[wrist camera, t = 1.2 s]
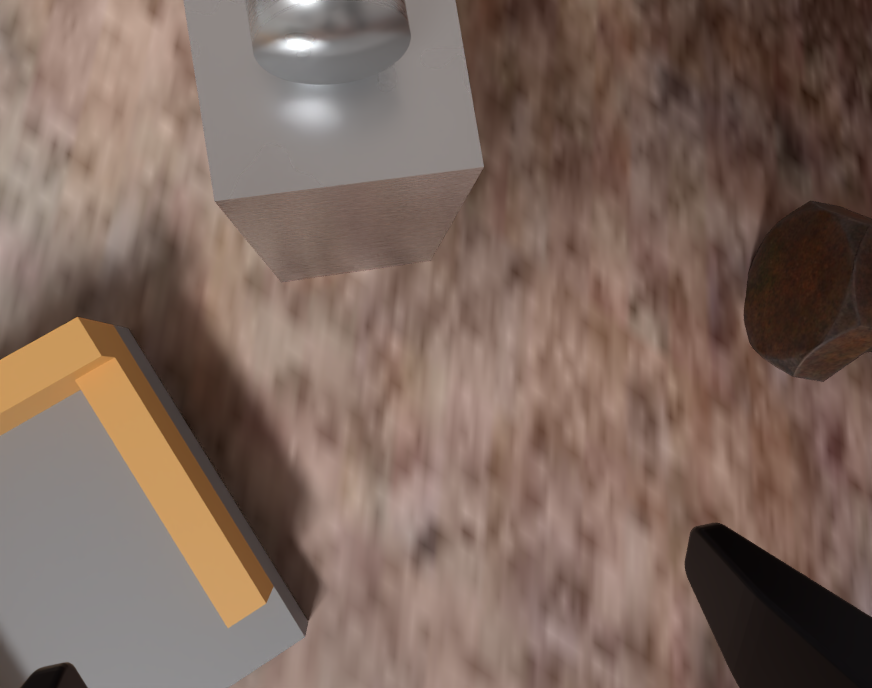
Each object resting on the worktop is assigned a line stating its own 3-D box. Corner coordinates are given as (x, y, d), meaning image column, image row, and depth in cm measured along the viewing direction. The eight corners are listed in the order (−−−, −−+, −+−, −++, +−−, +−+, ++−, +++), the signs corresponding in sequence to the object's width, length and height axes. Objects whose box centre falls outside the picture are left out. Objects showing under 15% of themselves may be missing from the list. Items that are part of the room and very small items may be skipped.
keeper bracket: (308, 622, 20) (291, 696, 16) (35, 801, 19) (-73, 941, 14) (128, 327, 20) (55, 312, 15) (-159, 489, 19) (-333, 525, 14)
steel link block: (430, 260, 21) (517, 108, 9) (281, 282, 21) (171, 148, 9) (406, 117, 22) (461, -211, 10) (257, 134, 21) (119, -193, 9)
